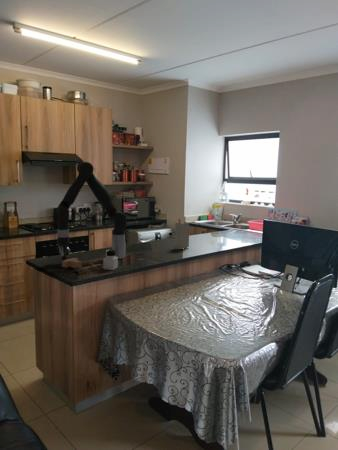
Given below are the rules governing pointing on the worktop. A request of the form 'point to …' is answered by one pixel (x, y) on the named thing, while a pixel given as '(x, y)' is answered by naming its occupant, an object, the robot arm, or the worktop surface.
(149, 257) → the worktop surface
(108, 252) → the medicine bottle
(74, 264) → the T block
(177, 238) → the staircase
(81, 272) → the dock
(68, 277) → the worktop surface
